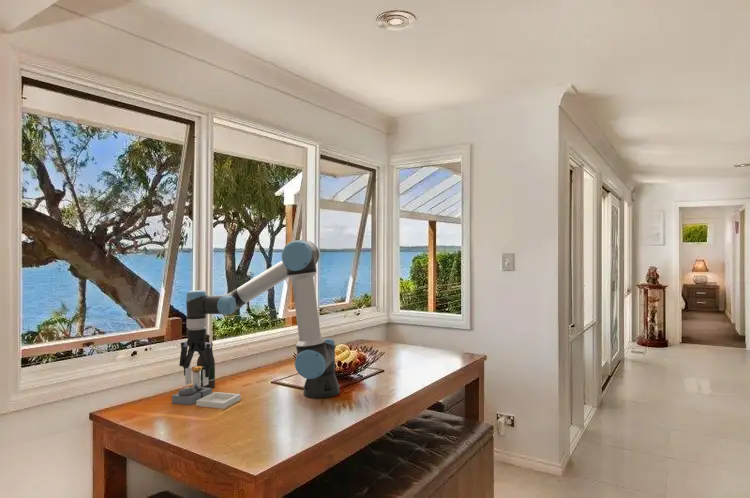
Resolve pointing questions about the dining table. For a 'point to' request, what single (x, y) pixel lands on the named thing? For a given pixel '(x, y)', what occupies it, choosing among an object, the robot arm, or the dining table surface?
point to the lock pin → (197, 377)
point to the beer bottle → (212, 370)
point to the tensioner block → (190, 395)
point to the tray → (219, 400)
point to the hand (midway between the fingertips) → (196, 384)
